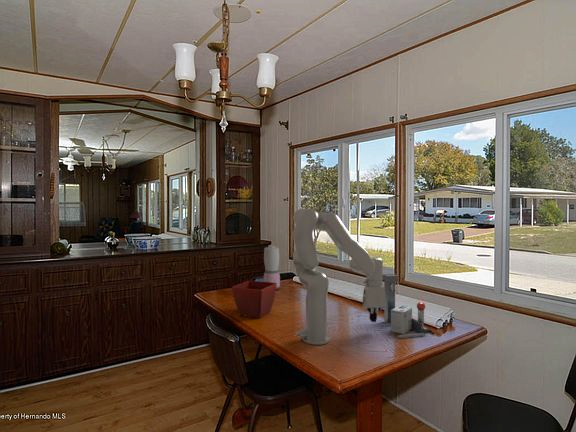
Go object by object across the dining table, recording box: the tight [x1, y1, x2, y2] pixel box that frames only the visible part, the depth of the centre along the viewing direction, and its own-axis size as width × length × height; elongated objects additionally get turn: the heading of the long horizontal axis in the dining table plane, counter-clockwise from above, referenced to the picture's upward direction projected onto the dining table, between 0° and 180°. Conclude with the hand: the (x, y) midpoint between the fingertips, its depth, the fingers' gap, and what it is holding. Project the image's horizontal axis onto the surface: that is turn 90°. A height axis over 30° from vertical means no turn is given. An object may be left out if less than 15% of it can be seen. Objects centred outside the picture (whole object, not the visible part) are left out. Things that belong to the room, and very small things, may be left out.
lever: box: [416, 301, 427, 330], centre depth 172 cm, size 4×5×13 cm
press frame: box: [381, 273, 425, 339], centre depth 174 cm, size 14×24×25 cm, turn 11°
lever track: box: [422, 326, 435, 336], centre depth 175 cm, size 6×20×1 cm, turn 11°
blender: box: [263, 245, 281, 290], centre depth 261 cm, size 16×12×32 cm
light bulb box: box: [390, 304, 413, 335], centre depth 172 cm, size 11×7×11 cm, turn 140°
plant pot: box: [231, 280, 277, 319], centre depth 198 cm, size 19×19×17 cm
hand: (373, 321), depth 168 cm, fingers closed
